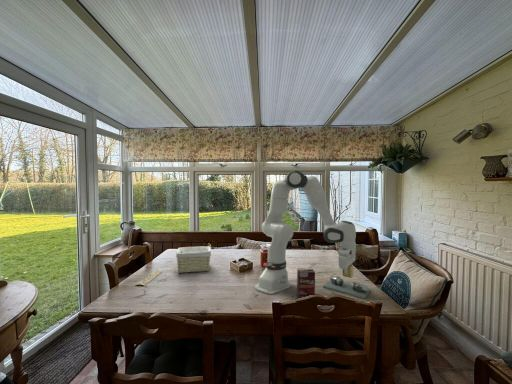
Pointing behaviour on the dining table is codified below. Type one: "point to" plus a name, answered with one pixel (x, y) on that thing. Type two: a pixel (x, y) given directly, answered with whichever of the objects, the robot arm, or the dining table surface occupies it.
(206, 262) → the storage basket
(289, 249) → the dining table surface
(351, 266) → the coupler
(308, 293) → the supplement box
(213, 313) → the dining table surface
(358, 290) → the shaft
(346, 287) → the bench plate
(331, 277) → the shaft
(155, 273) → the newspaper
